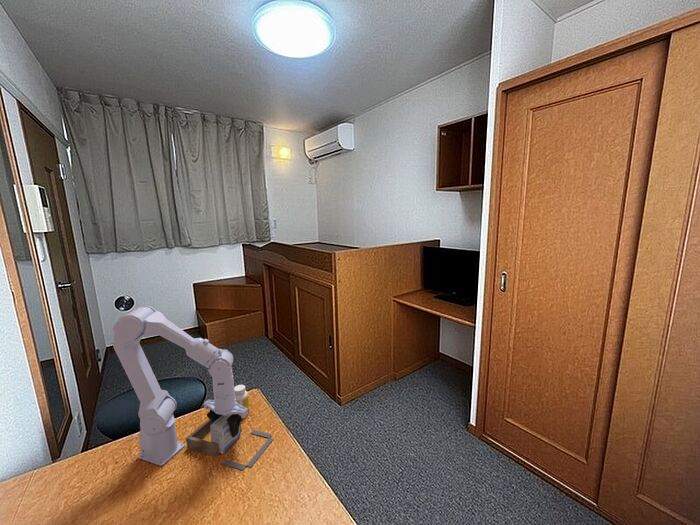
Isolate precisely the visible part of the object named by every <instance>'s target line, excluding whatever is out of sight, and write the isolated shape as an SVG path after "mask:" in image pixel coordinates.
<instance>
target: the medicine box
mask: <svg viewBox="0 0 700 525" xmlns="http://www.w3.org/2000/svg"><path fill="white" fill-rule="evenodd" d="M231 415H232V414H223V415H221V416H220V417H219V418H218V419H217V420H216V421H214V422H213V423H212V424H211V425H210V430H211V431H210V442H212V443H216V444H218V454H219V453H220V454H225V453H226V451H228V449H230V447H231V446H232V445H233V444H234V443H235V442H236V441H237V440H238V439H239V438H240V437H241V432H240V426H239V431H238V434H237V435H236V436H235V437H234V438H233V437H232V436H231V430H230V426H229V424H228V422H227V419H228V418H229V417H230V416H231Z"/></svg>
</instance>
